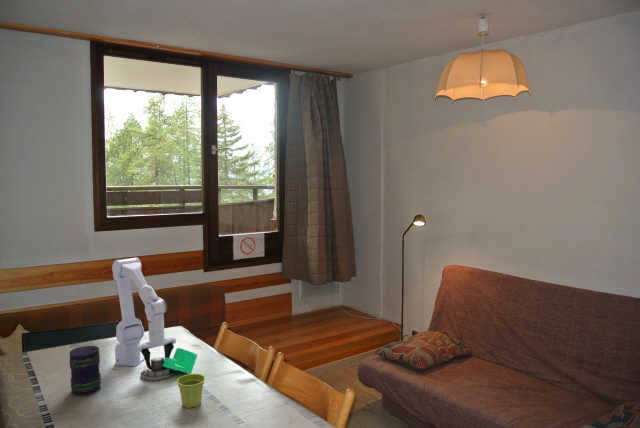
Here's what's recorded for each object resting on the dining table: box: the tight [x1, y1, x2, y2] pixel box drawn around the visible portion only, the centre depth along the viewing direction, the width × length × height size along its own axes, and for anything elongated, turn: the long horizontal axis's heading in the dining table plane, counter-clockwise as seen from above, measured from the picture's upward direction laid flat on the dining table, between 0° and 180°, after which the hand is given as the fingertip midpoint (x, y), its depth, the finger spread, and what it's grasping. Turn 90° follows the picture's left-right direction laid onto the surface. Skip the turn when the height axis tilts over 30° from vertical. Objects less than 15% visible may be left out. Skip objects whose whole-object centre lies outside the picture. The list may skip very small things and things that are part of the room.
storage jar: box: [69, 345, 102, 397], centre depth 173 cm, size 10×10×15 cm
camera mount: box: [163, 347, 198, 374], centre depth 188 cm, size 12×8×10 cm
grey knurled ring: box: [140, 363, 176, 382], centre depth 187 cm, size 13×13×3 cm
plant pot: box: [176, 373, 206, 409], centre depth 161 cm, size 9×9×9 cm
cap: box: [150, 356, 165, 370], centre depth 187 cm, size 5×5×5 cm
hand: (157, 364), depth 187 cm, fingers open, 7 cm apart
